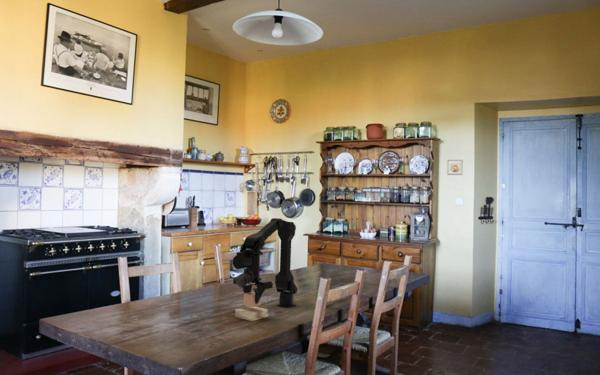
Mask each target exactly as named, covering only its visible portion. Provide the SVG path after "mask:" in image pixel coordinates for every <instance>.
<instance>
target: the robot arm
mask: <svg viewBox="0 0 600 375" xmlns="http://www.w3.org/2000/svg"><path fill="white" fill-rule="evenodd" d="M296 230H297V226H296V223H294V222H293V221H288V220H284V219H283V218H274V217H272V218H271V219H270V221H268V222H267V223H266V225H264V226H262V228H261V229H260V230H258V231H257V232H256V233H252V234H250V235H248V236H246V238H244V240H243V241H244V242H243V243H242V245H241V248H240V250H239V251H237V252H236V255H235V256H233V258H232V260H231V261H232V262H231V263H232V266H233V268H235V269H237V270H241V269H243V272H242V273H240V274H238V275H237V276H234V277H233V279H232V282H233V284H234V285H237V286H238V287H239V288H240V289H241V290H242V292H243V294H244V293H248V292H252V290H253V292H255V303H256V304H258V302H259V300H260V301H261V297H262V296H263V293H264V292H265V291H266V290H268V289H269V290H270V289H273V287H274V286H273V284H275V289H276V293H279V300H278V301H279V303H277V304H276V306H278V307H284V308H290V307H294V306H297V304H296V303H294V295H296V294H297V292H298V287H297V285H296V284H295V282H294V280H295V279H294V276H293V274H292V272H291V265H292V264H291V262H292V261H291V260H292V259H291V257H292V241H293V239H294V238H295V235H296ZM276 231H277V236H278V238H279V239H280V249H279V250H280V255H279V256H280V257H279V271H278V273H277V274H275V276H274V280H275V281H274V283H273V282H272V280H267V279H265V280H262V277H260V274H261V273H260V272H262V271H263V270H262V269H263V268H260V267H261V265H260V264H261V256H262V255H263V254H264V253H263V252H262V251H261V250H262V249H263V247H264V246H265V244H266V240H268V239H269V238H270V237H271V236H272V235H273V234H274V233H275V232H276ZM253 286H256V287H254V288H253Z"/></svg>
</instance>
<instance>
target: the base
mask: <svg viewBox="0 0 600 375" xmlns="http://www.w3.org/2000/svg"><path fill="white" fill-rule="evenodd" d="M234 317H235V318H238V319H243V320H247V321H250V322H253V321H257V320H261V319H265V318H268V317H269V309H267V308H263V307H259V306H255V307H249V306H244V307H240V308H236V309H234Z"/></svg>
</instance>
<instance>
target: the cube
mask: <svg viewBox="0 0 600 375" xmlns="http://www.w3.org/2000/svg"><path fill="white" fill-rule="evenodd" d="M243 306H244V307H248V306H249V307H255V306H256V307H259V306H261V299H260V300H259V302H258V304H256V303H255V291H251V292H248V293H244V292H243Z"/></svg>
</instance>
